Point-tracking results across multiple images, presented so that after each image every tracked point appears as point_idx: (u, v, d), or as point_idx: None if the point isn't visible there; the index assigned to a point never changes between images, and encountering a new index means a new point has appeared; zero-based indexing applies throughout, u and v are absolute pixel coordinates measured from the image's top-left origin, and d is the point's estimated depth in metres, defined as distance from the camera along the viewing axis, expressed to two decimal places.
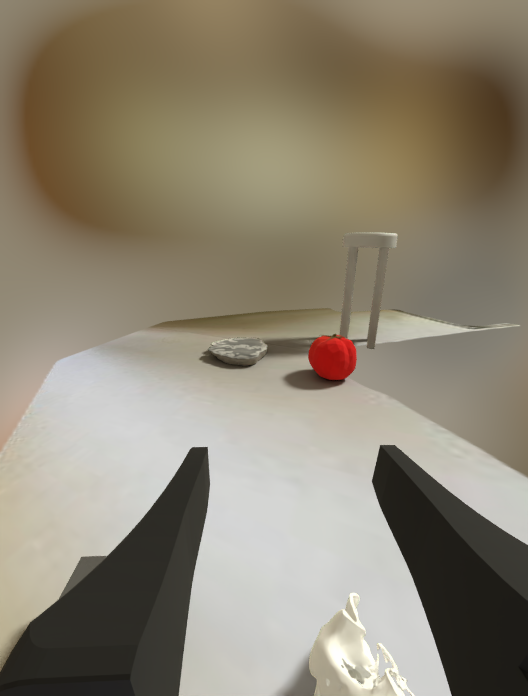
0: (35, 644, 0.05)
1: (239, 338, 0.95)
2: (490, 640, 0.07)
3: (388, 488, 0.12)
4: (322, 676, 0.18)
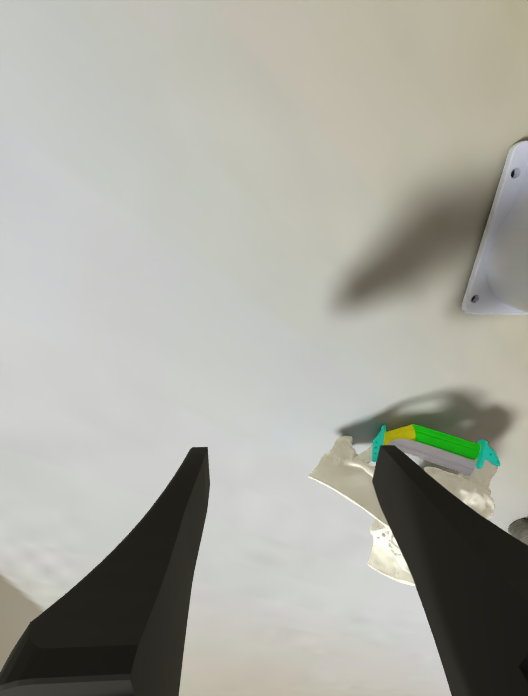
0: (35, 645, 0.05)
1: None
2: (490, 640, 0.07)
3: (388, 488, 0.12)
4: None
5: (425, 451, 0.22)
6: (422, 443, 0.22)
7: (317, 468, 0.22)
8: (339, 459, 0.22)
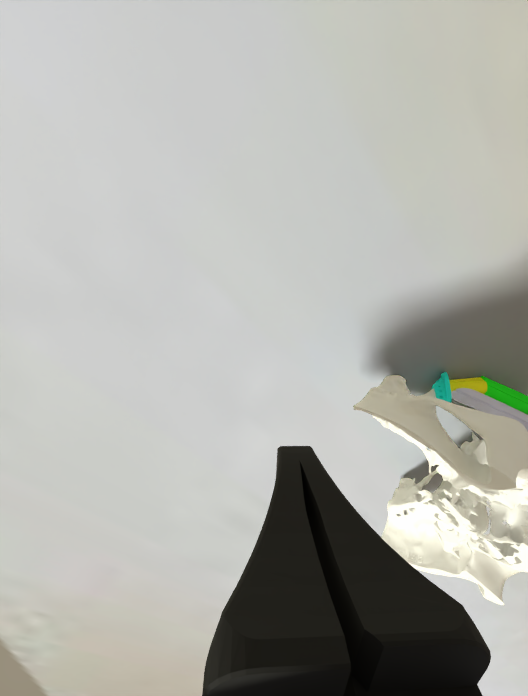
0: (244, 636, 0.05)
1: None
2: None
3: None
4: None
5: (500, 408, 0.17)
6: (494, 399, 0.17)
7: (364, 400, 0.16)
8: (396, 394, 0.16)
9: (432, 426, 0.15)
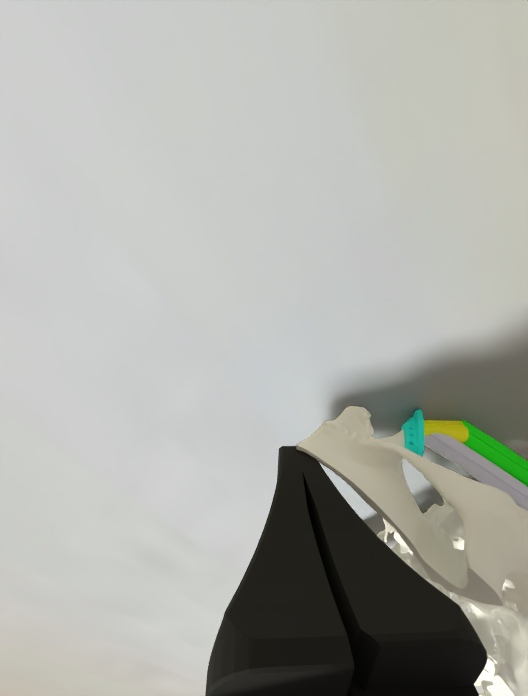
0: (247, 636, 0.05)
1: None
2: None
3: None
4: (492, 646, 0.12)
5: (481, 465, 0.13)
6: (475, 452, 0.14)
7: (313, 437, 0.12)
8: (354, 433, 0.12)
9: (395, 486, 0.11)
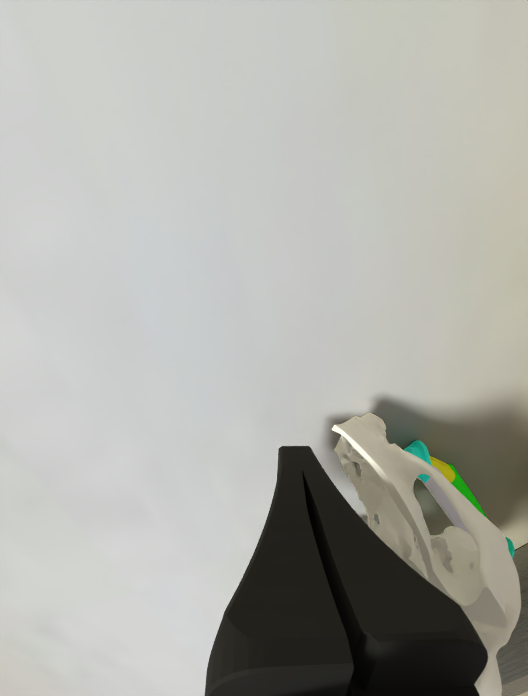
0: (247, 636, 0.05)
1: None
2: None
3: None
4: None
5: None
6: None
7: (345, 425, 0.12)
8: (382, 437, 0.12)
9: (412, 497, 0.11)
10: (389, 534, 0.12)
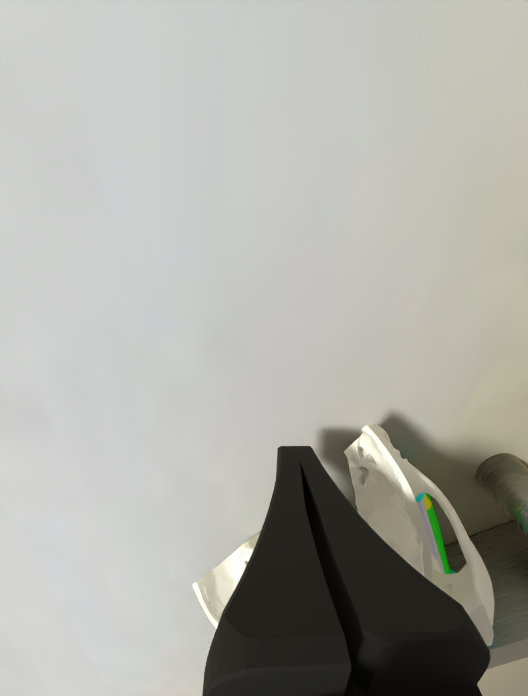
0: (244, 636, 0.05)
1: None
2: None
3: None
4: None
5: (430, 534, 0.15)
6: None
7: (370, 430, 0.12)
8: (396, 450, 0.13)
9: None
10: None
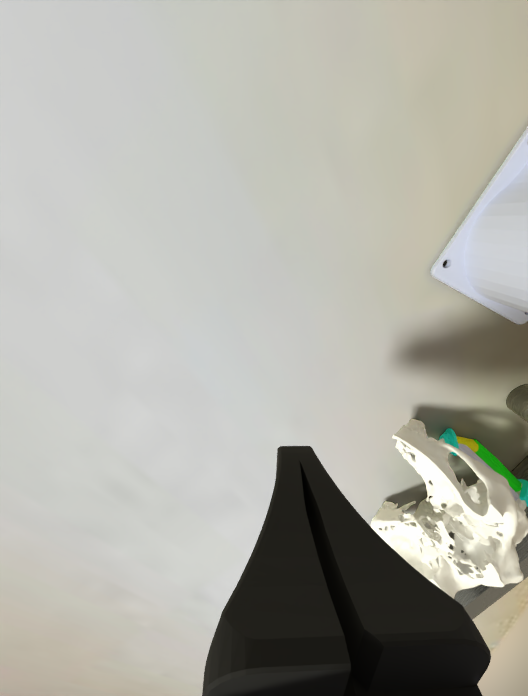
0: (244, 636, 0.05)
1: None
2: None
3: None
4: None
5: (484, 466, 0.22)
6: (481, 458, 0.23)
7: (399, 433, 0.21)
8: (422, 435, 0.21)
9: (447, 466, 0.20)
10: (440, 490, 0.21)
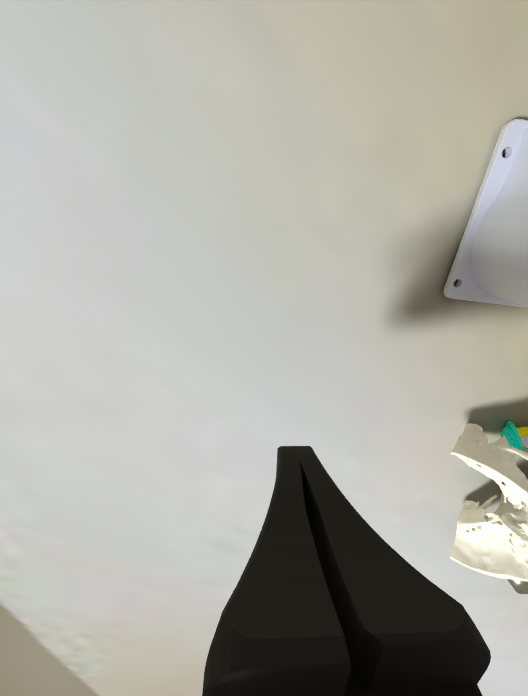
0: (244, 636, 0.05)
1: None
2: None
3: None
4: None
5: None
6: None
7: (457, 446, 0.21)
8: (481, 442, 0.21)
9: (514, 470, 0.20)
10: (515, 490, 0.21)
